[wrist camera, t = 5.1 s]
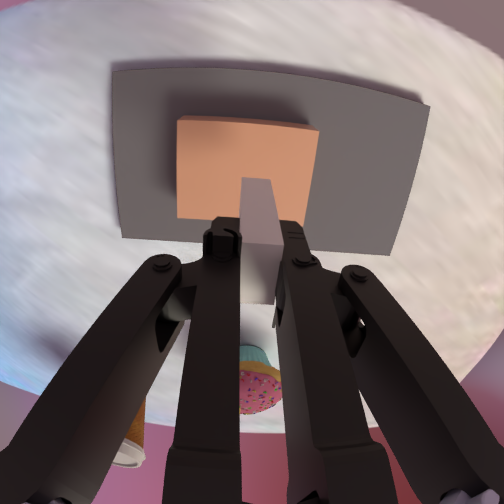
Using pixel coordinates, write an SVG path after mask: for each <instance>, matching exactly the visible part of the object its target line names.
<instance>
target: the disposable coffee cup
mask: <svg viewBox="0 0 504 504" xmlns="http://www.w3.org/2000/svg"><path fill="white" fill-rule="evenodd" d="M145 402H146V397H145V399H144V401H143V403H142V405H141V407H140V409H139V411H138V413H137V415H136V417H135V419H134V421H133V422H132V424H131V426H130V428H129V430H128V432H127V434H126V436H125V438H124V440H123V442H122V444H121V446H120V448H119V450H118V452H117V454H116V456H115V458H114V460H113V462H112V465H116V466H121V467H126V468H137V467H139V466H141V463H142V461H143V460H145V454H144V450H143V442H144V441H143V440H144V419H145Z"/></svg>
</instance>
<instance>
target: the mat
mask: <svg viewBox="0 0 504 504" xmlns="http://www.w3.org/2000/svg"><path fill="white" fill-rule="evenodd" d="M429 111H430V106H428V105H425V104H422V103H419V102H415V101H412V100H409V99H405V98H402V97H399V96H395V95H392V94H388V93H384V92H380V91H376V90H372V89H368V88H364V87H360V86H355V85H351V84H346V83H341V82H336V81H331V80H325V79H319V78H313V77H307V76H300V75H293V74H286V73H277V72H268V71H257V70H245V69H229V68H153V69H137V70H125V71H115V72H113V73H112V123H113V148H114V164H115V178H116V189H117V199H118V208H119V217H120V225H121V232H122V238H131V239H147V240H163V241H179V242H195V243H203V234H204V232H205V231H206V230H208V229H210V228H211V223H212V221H213V220H203V219H186V218H177V120H178V119H180V118H181V117H182V116H184V115H190V116H220V117H237V118H251V119H262V120H273V121H282V122H291V123H299V124H307V125H313V126H314V127H315V128H316V129H317V130H319V137H318V143H317V149H316V156H315V162H314V168H313V174H312V180H311V185H310V191H309V197H308V202H307V208H306V213H305V219H304V224H303V227H302V228H303V231H304V234H305V237H306V240H307V243H308V246H309V249H310V250H315V251H329V252H343V253H358V254H371V255H385V256H390V253H391V250H392V248H393V245H394V242H395V239H396V236H397V233H398V230H399V227H400V224H401V221H402V218H403V214H404V211H405V208H406V205H407V201H408V198H409V194H410V191H411V187H412V184H413V180H414V176H415V173H416V169H417V165H418V161H419V157H420V153H421V149H422V144H423V140H424V136H425V131H426V126H427V121H428V116H429Z"/></svg>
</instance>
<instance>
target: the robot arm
mask: <svg viewBox="0 0 504 504" xmlns="http://www.w3.org/2000/svg"><path fill="white" fill-rule="evenodd" d="M275 296H276V308H275V314H274V319H273V324H272V328H275V324H276V334H277V345H278V355H279V366H280V376H281V387H282V398H283V410H284V421H285V433H286V445H287V456H288V469H289V482H288V487H287V504H398V500H397V495H396V490H395V485H394V481H393V476H392V472H391V467H390V463H389V459H388V455H387V452H386V450H385V448H384V447H383V446H382V444H380V443H378V442H375V441H373V440H372V438H371V436H370V433H369V429H368V425H367V421H366V417H365V413H364V409H363V405H362V401H361V397H360V393H359V390H360V392H361V394H362V396H363V398H364V400H365V401H366V403H367V405H368V407H369V409H370V411H371V412H372V414H373V416H374V418H375V420H376V422H377V423H378V425H379V427H380V429H381V431H382V433H383V435H384V437H385V438H386V440H387V442H388V444H389V446H390V448H391V449H392V451H393V453H394V455H395V457H396V459H397V461H398V463H399V465H400V467H401V469H402V471H403V472H404V474H405V476H406V478H407V480H408V482H409V484H410V486H411V488H412V489H413V491H414V493H415V494H416V496H417V498H418V499H419V500H420V501H421V503H422V504H504V448H503V446H501V445H500V444H499V443H498V441H497V440H496V438H495V436H494V435H493V433H492V432H491V430H490V428H489V427H488V425H487V424H486V422H485V421H484V419H483V417H482V416H481V415H480V413H479V411H478V410H477V408H476V407H475V405H474V404H473V402H472V401H471V399H470V398H469V397H468V395H467V394H466V392H465V391H464V389H463V388H462V386H460V384H459V382H458V381H457V379H456V378H455V377H454V375H453V374H452V372H451V371H450V370H449V368H448V367H447V365H446V364H445V363H444V361H443V360H442V359H441V357H440V356H439V355H438V353H437V352H436V351H435V349H434V348H433V347H432V345H431V344H430V343H429V341H428V340H427V339H426V337H425V336H424V335H423V334H422V332H421V331H420V330H419V328H418V327H417V326H416V325H415V323H414V322H413V321H412V320H411V318H410V317H409V316H408V315H407V313H406V312H405V311H404V310H403V308H402V307H401V306H400V305H399V303H398V302H397V301H396V300H395V299H394V297H393V296H392V295H391V294H390V293H389V291H388V290H387V289H386V288H385V287H384V285H383V284H382V283H381V282H380V281H379V279H378V278H377V277H376V276H375V275H374V274H373V273H372V272H371V271H370V270H369V269H367V268H365V267H363V266H359V265H348V266H345V267H344V268H343V269H342V271H341V273H337V272H333V271H330V270H327V269H324V268H322V266H321V263H320V261H319V260H318V258H317V257H315V256H314V255H312V254H311V252H310V249H309V246H308V243H307V240H306V237H305V234H304V231H303V228H302V226H301V225H300V224H299V223H298V222H296V221H289V220H279V218H278V213H277V208H276V203H275V199H274V194H273V189H272V185H271V180H270V179H261V178H248V177H242V181H241V193H240V206H239V218H236V217H221V216H217V217H216V218H215V219H214V220H213V221H212V223H211V228H210V229H208V230H206V231H205V232H204V234H203V257H202V258H201V259H199V260H197V261H195V262H191V263H186V264H181V262H180V260H179V259H178V258H177V257H175V256H173V255H169V254H159V255H155V256H152V257H150V258H148V259H147V260H146V261H145V262H144V263H143V264H142V265H141V266H140V267H139V269H138V270H137V271H136V272H135V273H134V275H133V276H132V277H131V278H130V279H129V280H128V282H127V283H126V284H125V285H124V286H123V288H122V289H121V290H120V291H119V292H118V294H117V295H116V296H115V297H114V299H113V300H112V301H111V302H110V303H109V305H108V306H107V307H106V308H105V310H104V311H103V312H102V313H101V315H100V316H99V317H98V318H97V320H96V321H95V322H94V324H93V325H92V326H91V327H90V329H89V330H88V331H87V333H86V334H85V335H84V336H83V338H82V339H81V340H80V342H79V343H78V344H77V346H76V347H75V348H74V350H73V351H72V352H71V354H70V355H69V356H68V358H67V359H66V360H65V362H64V363H63V365H62V366H61V367H60V369H59V370H58V371H57V373H56V374H55V376H54V377H53V378H52V380H51V381H50V383H49V384H48V386H47V387H46V388H45V390H44V391H43V393H42V394H41V396H40V397H39V399H38V400H37V402H36V403H35V405H34V406H33V408H32V409H31V411H30V412H29V414H28V415H27V417H26V418H25V420H24V421H23V423H22V425H21V426H20V428H19V429H18V431H17V432H16V434H15V436H14V437H13V439H12V440H11V442H10V444H9V445H8V446H7V447H6V448H5V449H3V450H2V451H1V452H0V504H91V503H92V501H93V499H94V498H95V496H96V494H97V492H98V491H99V489H100V487H101V485H102V483H103V481H104V478H105V476H106V475H107V473H108V470H109V468H110V466H111V464H112V462H113V460H114V458H115V456H116V454H117V452H118V450H119V448H120V446H121V444H122V442H123V440H124V438H125V436H126V434H127V432H128V430H129V428H130V426H131V424H132V422H133V421H134V419H135V417H136V415H137V413H138V411H139V409H140V407H141V405H142V403H143V401H144V399H145V397H146V395H147V393H148V391H149V389H150V388H151V386H152V384H153V382H154V380H155V378H156V376H157V374H158V372H159V370H160V368H161V367H162V365H163V363H164V361H165V359H166V357H167V355H168V353H169V351H170V350H171V348H172V346H173V344H174V342H175V340H176V338H177V336H178V335H179V333H180V331H181V329H182V327H183V325H184V322H185V320H188V319H191V323H190V329H189V335H188V341H187V348H186V354H185V360H184V367H183V374H182V380H181V387H180V395H179V402H178V409H177V417H176V425H175V433H174V441H173V444H172V446H171V447H170V448H169V452H168V455H167V461H166V469H165V477H164V487H163V497H162V504H250V503H247V502H242V481H241V480H242V476H241V474H242V472H241V453H240V443H239V442H240V441H239V440H240V438H239V437H240V436H239V434H240V303H249V304H269V305H274V301H275ZM361 319H362V321H363V322H364V324H365V326H364V325H363V324H362V323H361V321H360V320H361Z"/></svg>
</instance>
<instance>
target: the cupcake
mask: <svg viewBox="0 0 504 504" xmlns="http://www.w3.org/2000/svg"><path fill="white" fill-rule="evenodd" d="M281 398H282V387H281V376H280V371H279V370H277V369H275V368H274V367H272V366H271V365H270V363H269V361H268V358H267V356H266V354H265V352H264V351H263V350H261V349H260V348H257V347H254V346H248V345H245V346H240V414H242V413H243V414H244V415H246V414H255V413H257V412H261V411H264V410H266V409H268V408H270V407H271V406H272V407H273V406H274V405H275V404H276V403H277V402H278V401H280V400H281Z"/></svg>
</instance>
